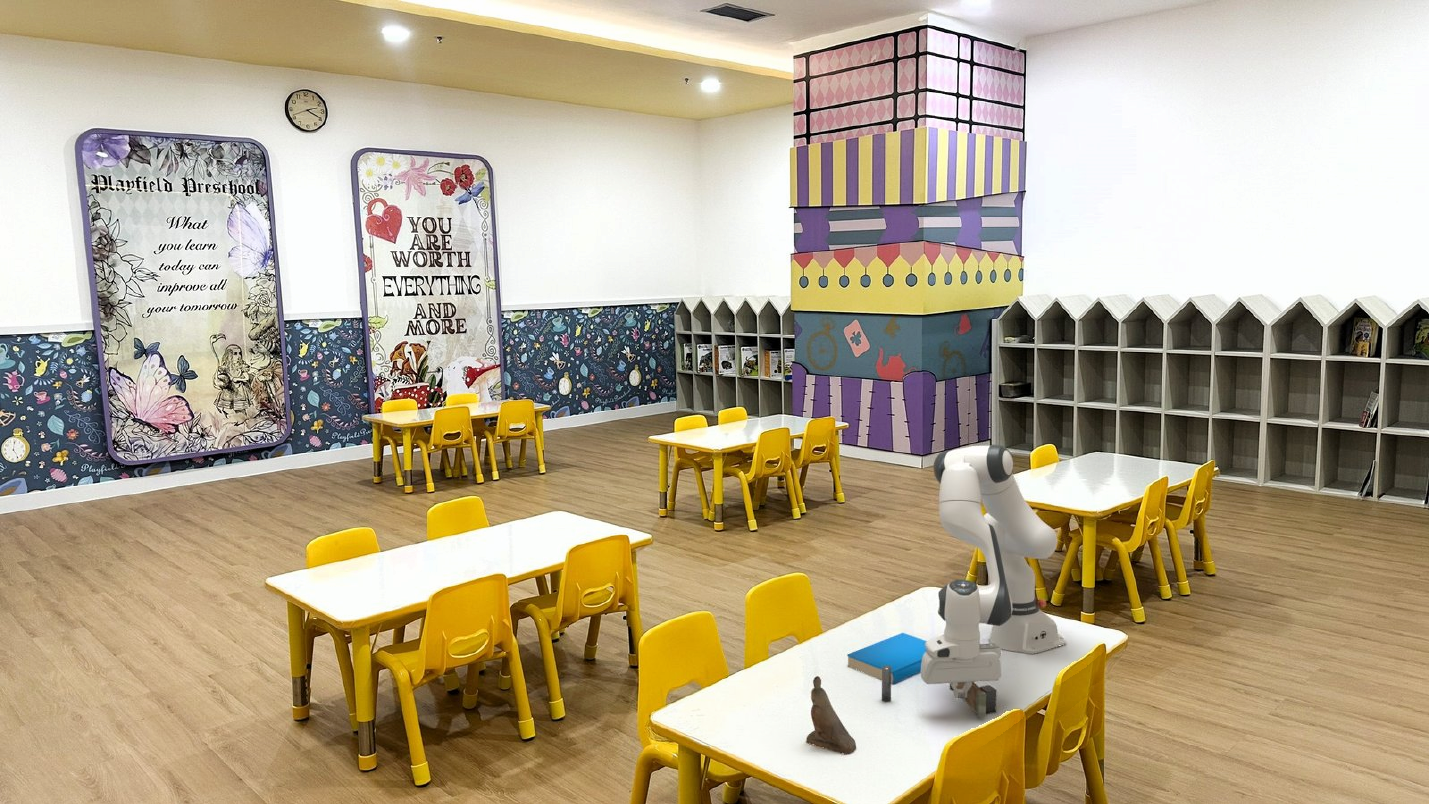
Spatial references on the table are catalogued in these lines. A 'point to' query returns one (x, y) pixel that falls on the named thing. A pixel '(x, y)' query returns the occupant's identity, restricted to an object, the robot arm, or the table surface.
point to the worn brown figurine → (827, 724)
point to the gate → (975, 699)
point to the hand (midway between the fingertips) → (960, 697)
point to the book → (890, 657)
